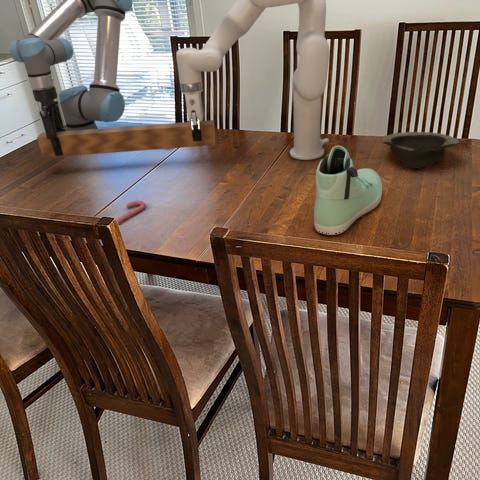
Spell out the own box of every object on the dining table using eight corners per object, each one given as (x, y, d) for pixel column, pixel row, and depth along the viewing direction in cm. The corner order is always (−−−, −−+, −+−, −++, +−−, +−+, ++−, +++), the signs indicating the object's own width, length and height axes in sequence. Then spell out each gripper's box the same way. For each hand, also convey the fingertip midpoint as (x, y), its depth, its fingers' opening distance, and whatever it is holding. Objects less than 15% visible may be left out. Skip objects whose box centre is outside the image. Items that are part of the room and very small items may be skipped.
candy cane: (99, 223, 142) (98, 218, 141) (136, 202, 152) (135, 198, 151) (113, 227, 139) (112, 223, 138) (149, 206, 149) (149, 202, 148)
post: (42, 157, 173) (36, 137, 169) (47, 152, 177) (41, 132, 173) (215, 145, 172) (213, 124, 168) (215, 140, 177) (213, 120, 173)
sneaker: (389, 187, 148) (396, 123, 138) (356, 242, 123) (361, 168, 112) (346, 181, 154) (350, 119, 144) (306, 232, 129) (307, 161, 118)
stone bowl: (418, 179, 151) (419, 150, 147) (365, 160, 172) (365, 135, 167) (473, 159, 160) (476, 132, 156) (417, 144, 180) (418, 120, 176)
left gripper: (46, 93, 155) (65, 161, 167) (61, 80, 170) (78, 143, 182) (23, 95, 155) (43, 162, 167) (40, 82, 170) (58, 144, 182)
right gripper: (201, 92, 157) (207, 145, 166) (203, 80, 171) (208, 129, 181) (178, 94, 157) (186, 147, 166) (182, 82, 171) (188, 131, 181)
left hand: (61, 152), depth 174 cm, fingers closed on post, 5 cm apart
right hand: (197, 137), depth 173 cm, fingers closed on post, 5 cm apart
